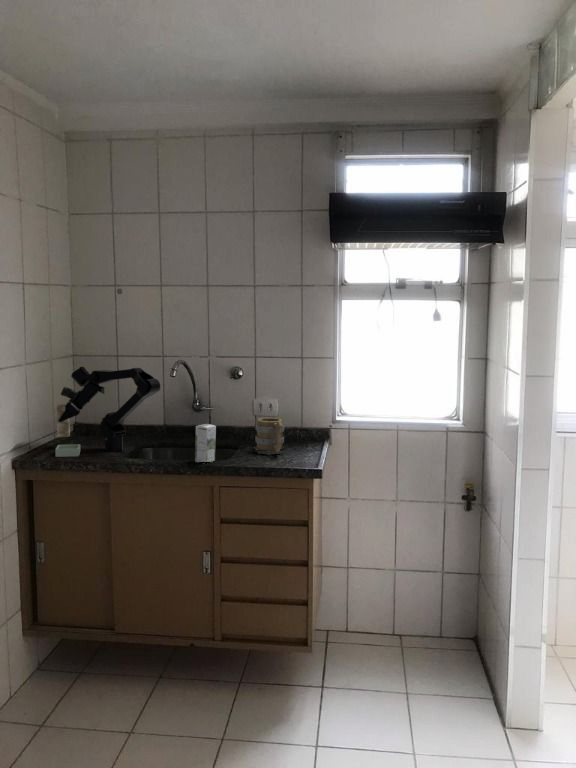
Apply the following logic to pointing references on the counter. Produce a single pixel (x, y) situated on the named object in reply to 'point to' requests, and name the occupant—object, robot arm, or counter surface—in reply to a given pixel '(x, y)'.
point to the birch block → (62, 423)
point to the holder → (67, 450)
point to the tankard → (269, 434)
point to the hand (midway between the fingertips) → (59, 420)
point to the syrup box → (205, 443)
